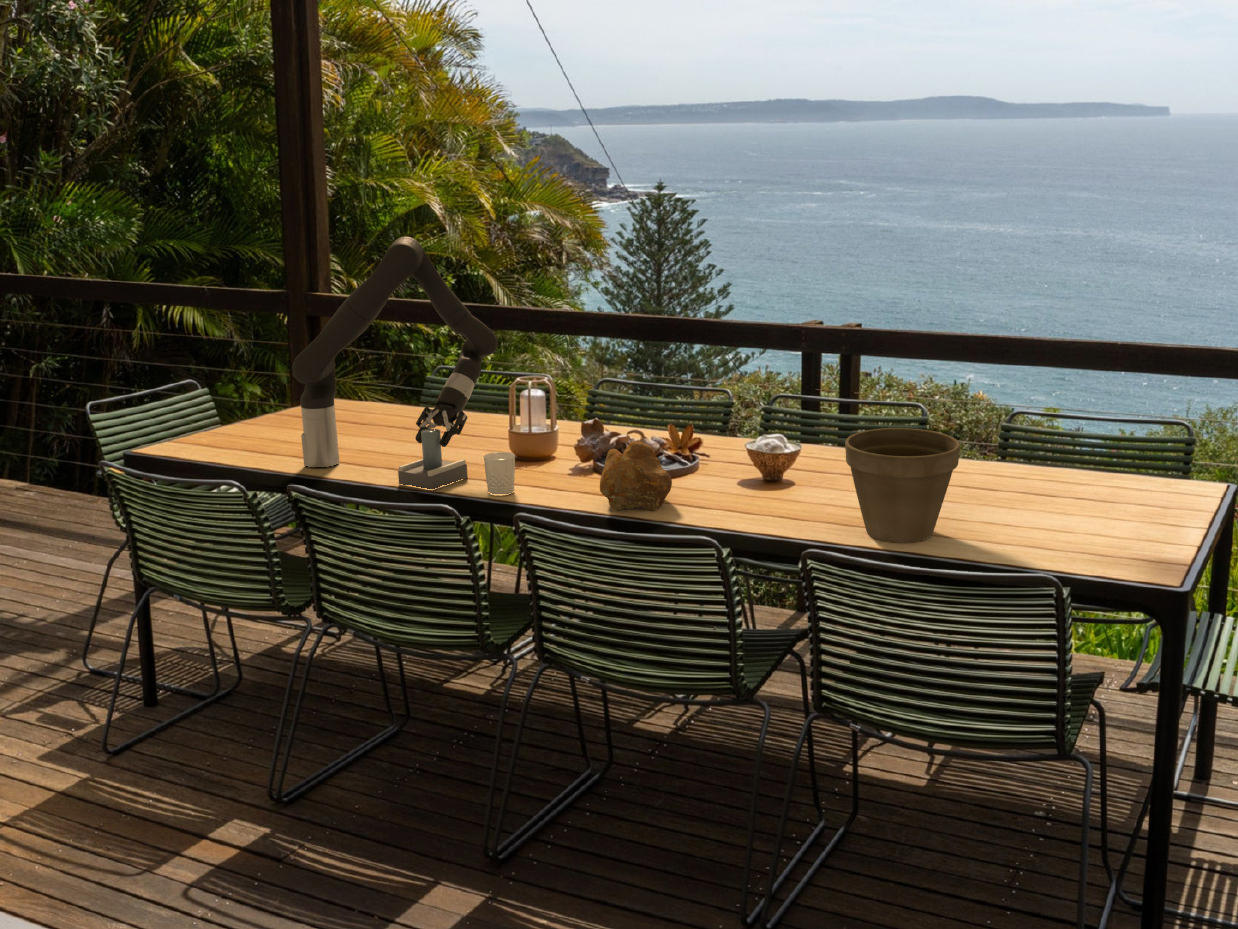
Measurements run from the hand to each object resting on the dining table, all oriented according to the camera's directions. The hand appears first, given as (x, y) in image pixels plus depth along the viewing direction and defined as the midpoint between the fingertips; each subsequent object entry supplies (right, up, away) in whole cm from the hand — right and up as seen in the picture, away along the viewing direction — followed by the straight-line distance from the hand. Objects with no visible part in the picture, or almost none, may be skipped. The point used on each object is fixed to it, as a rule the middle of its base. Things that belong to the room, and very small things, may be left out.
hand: (430, 443), depth 318 cm
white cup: (+20, -13, -9) cm, 25 cm away
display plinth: (+1, -10, +3) cm, 11 cm away
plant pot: (+114, -21, -48) cm, 125 cm away
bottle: (0, -6, +2) cm, 7 cm away
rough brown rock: (+56, -16, -22) cm, 62 cm away
